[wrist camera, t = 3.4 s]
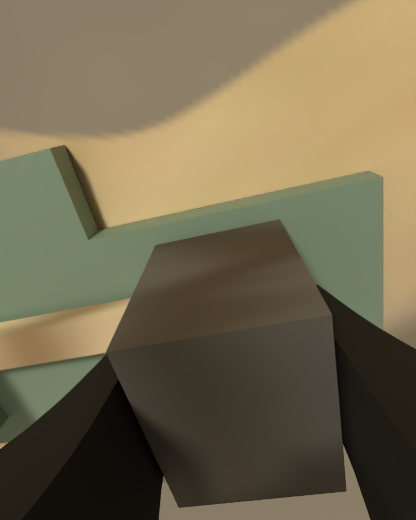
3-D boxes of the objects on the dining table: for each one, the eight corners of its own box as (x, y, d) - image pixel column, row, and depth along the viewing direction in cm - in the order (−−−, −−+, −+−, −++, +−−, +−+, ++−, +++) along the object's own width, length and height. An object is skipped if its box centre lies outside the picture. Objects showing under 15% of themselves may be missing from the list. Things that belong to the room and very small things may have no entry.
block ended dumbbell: (279, 217, 10) (331, 314, 5) (297, 343, 12) (346, 491, 7) (-111, 298, 12) (-326, 423, 7) (-37, 396, 14) (-166, 541, 9)
